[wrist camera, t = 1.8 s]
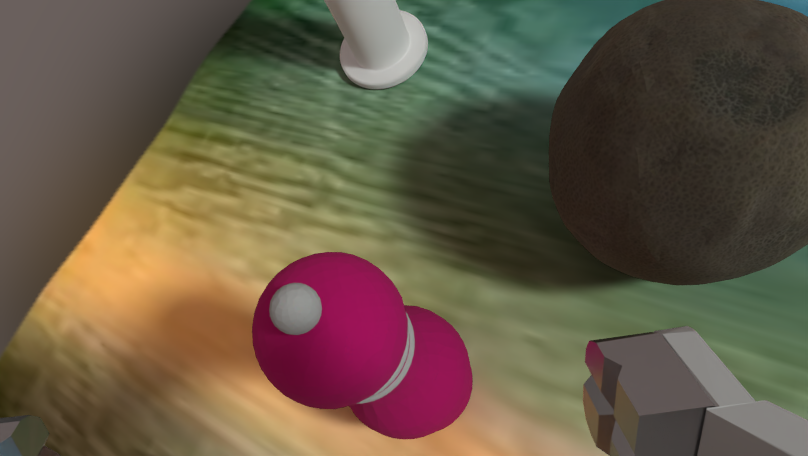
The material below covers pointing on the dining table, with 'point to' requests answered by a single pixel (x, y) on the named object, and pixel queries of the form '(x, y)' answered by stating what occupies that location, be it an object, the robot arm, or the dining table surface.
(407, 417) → the pepper mill
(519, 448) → the dining table surface
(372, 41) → the candle
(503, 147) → the dining table surface
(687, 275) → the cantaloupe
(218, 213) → the dining table surface
